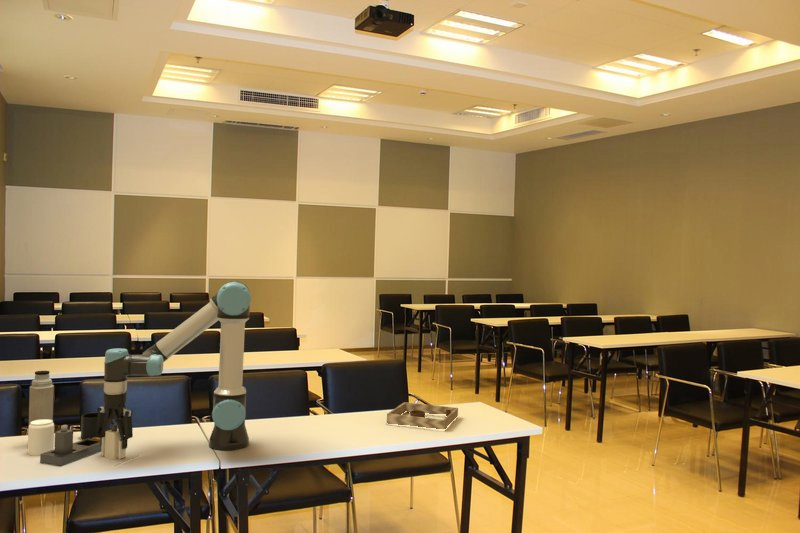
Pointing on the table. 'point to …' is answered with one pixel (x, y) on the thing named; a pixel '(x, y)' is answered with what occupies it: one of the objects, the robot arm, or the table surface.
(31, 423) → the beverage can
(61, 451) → the twin plug
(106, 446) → the plug
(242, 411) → the robot arm
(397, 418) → the frame
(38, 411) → the thermos bottle
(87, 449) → the strip
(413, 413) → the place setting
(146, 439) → the table surface
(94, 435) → the mug
